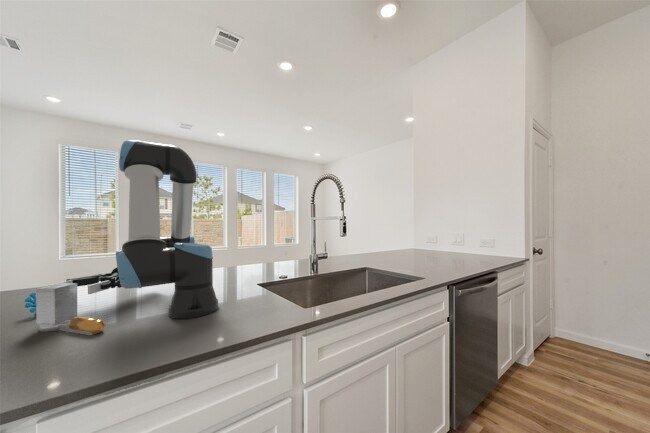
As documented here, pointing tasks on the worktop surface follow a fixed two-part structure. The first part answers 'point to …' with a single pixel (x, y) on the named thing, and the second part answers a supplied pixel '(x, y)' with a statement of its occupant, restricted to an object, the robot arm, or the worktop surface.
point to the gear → (31, 302)
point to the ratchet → (76, 326)
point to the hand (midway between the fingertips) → (68, 289)
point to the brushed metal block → (56, 303)
